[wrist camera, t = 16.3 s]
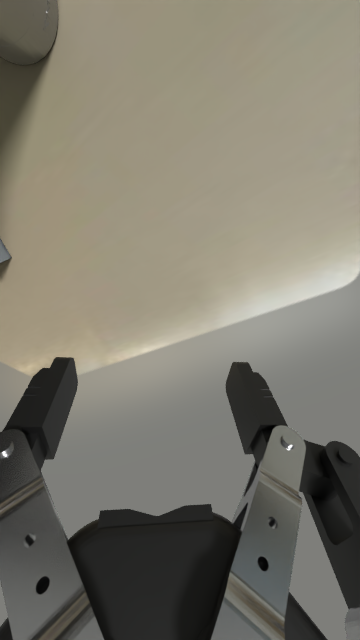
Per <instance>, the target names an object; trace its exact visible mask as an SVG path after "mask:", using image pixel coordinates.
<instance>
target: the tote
mask: <svg viewBox="0 0 360 640" xmlns="http://www.w3.org/2000/svg"><path fill="white" fill-rule="evenodd" d="M10 258H12V257H11V256H10V254H9V252H8V251H7V249H6V247H5V246H4V244H3V242H2V240H1V239H0V263H1V262H3V261H5V260H8V259H10Z"/></svg>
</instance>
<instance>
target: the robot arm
mask: <svg viewBox="0 0 360 640" xmlns="http://www.w3.org/2000/svg"><path fill="white" fill-rule="evenodd" d="M57 27H58V4H57V0H0V57H2V58H4V59H6V60H7V61H9V62H12V63H15V64H19V65H30V64H33V63H36V62H38V61H39V60H41V59H42V58H44V57H45V56H46V54H47V53H48V52H49V50H50V49H51V47H52V44H53V42H54V40H55V37H56V32H57ZM77 383H78V380H77V373H76V368H75V362H74V359H73V358H66V357H56V358H55V359H54V361H53V363H52V365H51V367H50V368H42V369H41V370H40V371H39V372H38V373H37V374H36V375H34V376H33V378H32V380H31V381H30V383H29V385H28V388H27V389H26V390H25V392H24V395H23V396H22V398H21V400H20V401H19V403H18V405H17V407H16V409H15V410H14V412H13V414H12V416H11V418H10V419H9V421H8V423H7V425H6V427H5V428H4V430H3V431H2V432H0V581H1V586H2V590H3V595H4V600H5V605H6V609H7V614H8V618H7V619H6V620H5V622H4V623H3V624H2V626H1V627H0V640H327V639H326V637H325V636H324V635H323V634H322V632H321V631H320V630H319V629H318V627H317V626H316V625H315V624H314V622H313V621H312V620H311V619H310V617H309V616H308V615H307V614H306V612H305V611H304V610H303V609H302V607H301V606H300V605H299V603H298V602H297V601H296V600H295V598H294V597H293V596H292V595H291V593H290V592H289V587H290V580H291V574H292V567H293V561H294V555H295V548H296V542H297V535H298V529H299V522H300V516H301V509H302V499H301V497H299V491H300V492H303V494H304V496H305V499H306V501H307V504H308V506H309V509H310V512H311V514H312V517H313V519H314V522H315V524H316V527H317V529H318V532H319V535H320V537H321V540H322V542H323V545H324V547H325V550H326V552H327V555H328V558H329V560H330V563H331V565H332V568H333V570H334V573H335V575H336V578H337V580H338V583H339V586H340V588H341V591H342V593H343V596H344V598H345V601H346V604H347V606H348V608H349V610H348V612H347V614H346V618H345V629H346V635H347V640H360V457H359V456H358V454H357V453H356V452H355V451H354V450H352V449H351V448H350V447H349V446H347V445H346V444H344V443H341V442H338V441H332V442H329V443H328V444H327V445H326V446H321V445H318V444H315V443H311V442H308V441H306V440H303V438H302V437H301V436H300V435H299V434H298V433H297V432H296V431H295V430H293V429H292V428H290V427H288V426H287V424H286V422H285V420H284V417H283V415H282V413H281V411H280V409H279V407H278V405H277V403H276V401H275V399H274V398H273V395H272V393H271V391H270V390H269V387H268V385H267V383H266V381H265V380H264V379H263V377H262V376H261V375H260V374H259V373H256V372H253V371H252V369H251V367H250V365H249V363H248V362H233V363H232V366H231V369H230V372H229V375H228V378H227V381H226V393H227V396H228V399H229V403H230V406H231V410H232V413H233V416H234V419H235V422H236V426H237V429H238V433H239V436H240V439H241V443H242V446H243V449H244V453H245V454H253V455H254V458H255V462H254V464H253V466H252V470H251V472H250V475H249V478H248V481H247V484H246V486H245V489H244V492H243V495H242V498H241V500H240V503H239V505H238V507H237V509H236V512H235V514H234V517H233V519H232V522H230V521H229V520H228V519H226V518H224V517H223V516H221V515H218V514H216V513H213V512H212V508H211V504H205V505H188V506H183V507H181V508H178V509H175V510H173V511H170V512H168V513H166V514H163V515H160V516H153V515H149V514H146V513H142V512H138V511H134V510H130V509H123V510H122V509H121V510H104V511H100V515H99V519H98V520H95V521H93V522H91V523H89V524H87V525H86V526H84V527H83V528H81V529H80V530H79V531H77V532H76V533H75V534H74V535H73V536H72V537H71V538H70V539H69V540H68V538H67V535H66V533H65V531H64V528H63V525H62V523H61V521H60V518H59V516H58V513H57V511H56V508H55V506H54V503H53V501H52V498H51V496H50V493H49V491H48V488H47V485H46V483H45V481H44V478H43V476H42V473H41V468H42V466H43V463H44V460H45V459H54V456H55V453H56V451H57V448H58V445H59V441H60V439H61V435H62V433H63V430H64V427H65V424H66V421H67V418H68V415H69V412H70V408H71V406H72V403H73V400H74V397H75V394H76V391H77V385H78V384H77Z"/></svg>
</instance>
